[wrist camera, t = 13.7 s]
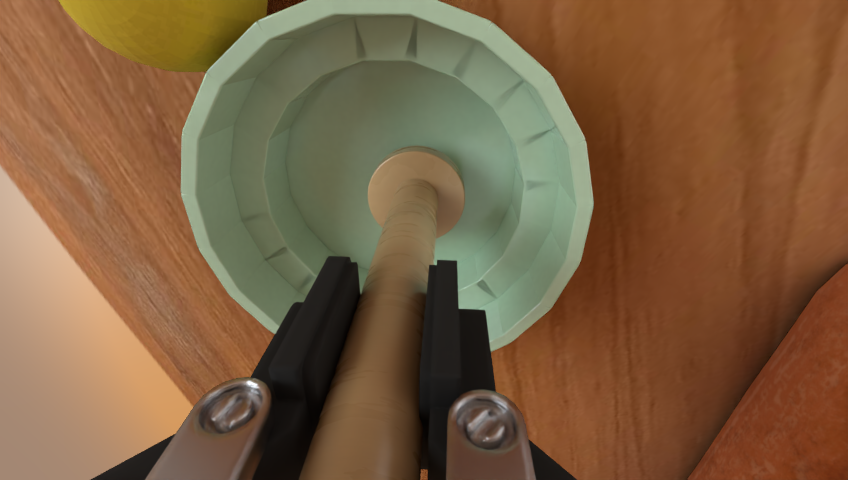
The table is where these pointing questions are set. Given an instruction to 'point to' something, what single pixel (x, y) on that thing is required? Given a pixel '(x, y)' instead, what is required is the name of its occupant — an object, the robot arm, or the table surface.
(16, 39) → the table surface
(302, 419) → the robot arm
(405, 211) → the wooden peg with base
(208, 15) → the lemon
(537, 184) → the bowl
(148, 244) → the table surface
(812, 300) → the bread
